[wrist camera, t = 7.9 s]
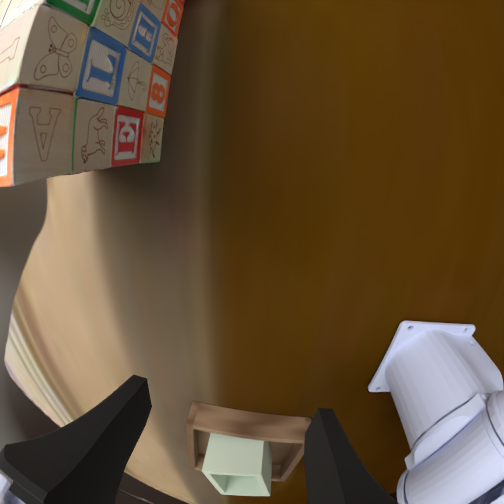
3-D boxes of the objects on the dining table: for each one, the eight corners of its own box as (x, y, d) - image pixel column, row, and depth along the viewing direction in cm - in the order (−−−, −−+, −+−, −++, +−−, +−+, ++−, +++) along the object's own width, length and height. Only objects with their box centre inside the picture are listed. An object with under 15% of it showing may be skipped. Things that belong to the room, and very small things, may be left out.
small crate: (264, 425, 23) (261, 473, 18) (272, 455, 26) (270, 495, 20) (212, 424, 24) (201, 470, 18) (228, 455, 26) (221, 494, 21)
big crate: (311, 417, 23) (312, 440, 20) (284, 463, 27) (284, 481, 24) (193, 401, 24) (185, 423, 21) (194, 450, 28) (189, 468, 25)
